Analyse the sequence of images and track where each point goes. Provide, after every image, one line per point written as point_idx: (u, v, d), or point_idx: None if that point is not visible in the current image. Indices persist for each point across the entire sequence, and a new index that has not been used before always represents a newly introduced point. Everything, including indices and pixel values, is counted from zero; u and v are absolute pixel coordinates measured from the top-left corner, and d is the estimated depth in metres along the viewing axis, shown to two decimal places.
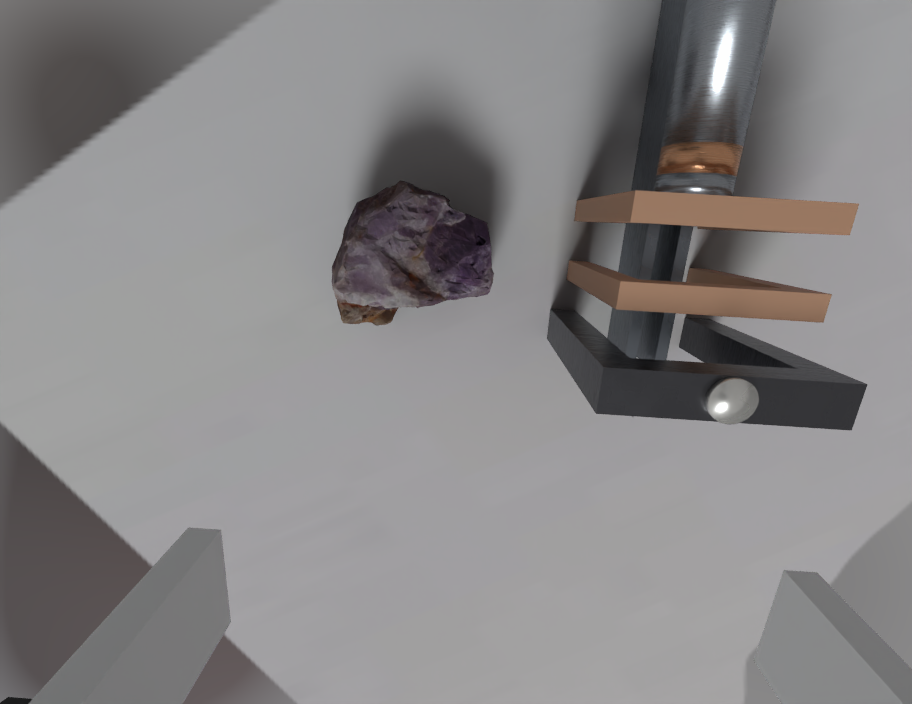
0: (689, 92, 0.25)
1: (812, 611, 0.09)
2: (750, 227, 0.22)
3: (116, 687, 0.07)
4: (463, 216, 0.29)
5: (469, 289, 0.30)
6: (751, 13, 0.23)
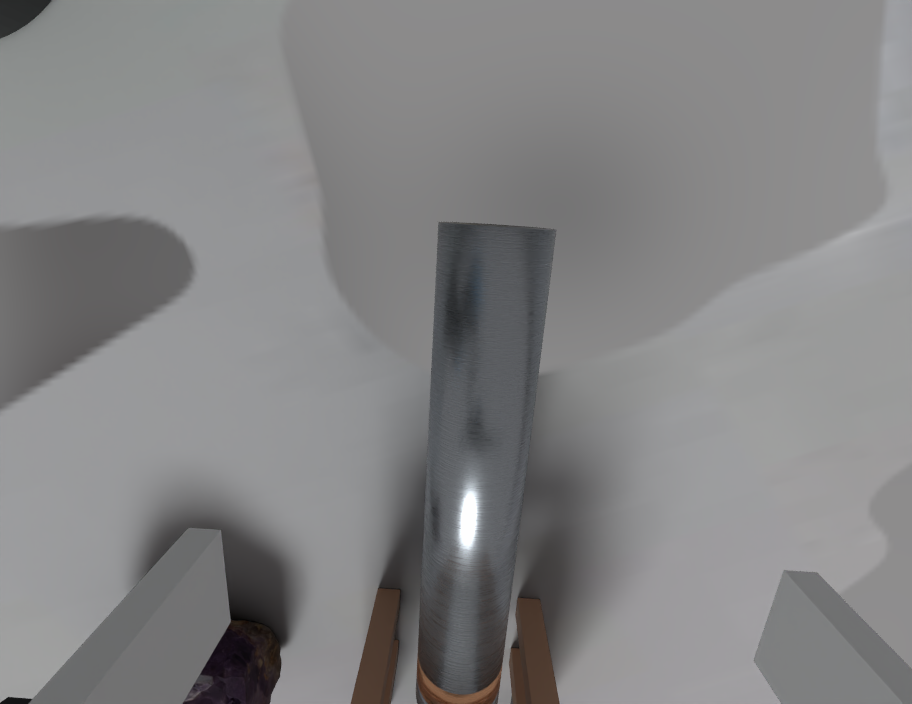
0: (425, 631, 0.21)
1: (812, 611, 0.09)
2: None
3: (116, 687, 0.07)
4: (208, 686, 0.25)
5: None
6: (474, 591, 0.19)
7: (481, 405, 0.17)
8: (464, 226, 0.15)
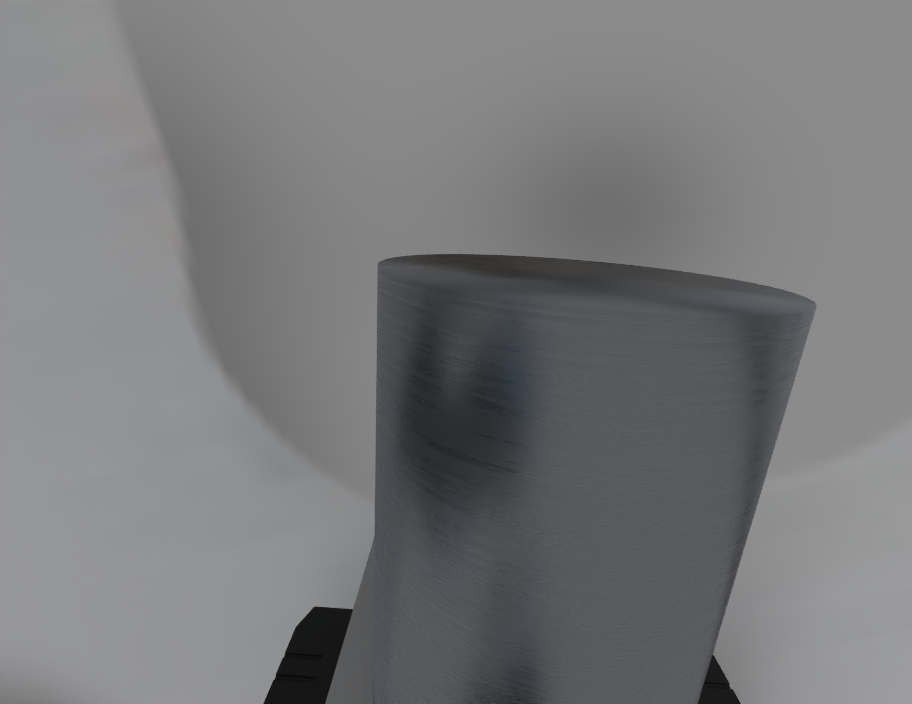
0: None
1: None
2: None
3: None
4: None
5: None
6: None
7: None
8: (466, 298, 0.03)
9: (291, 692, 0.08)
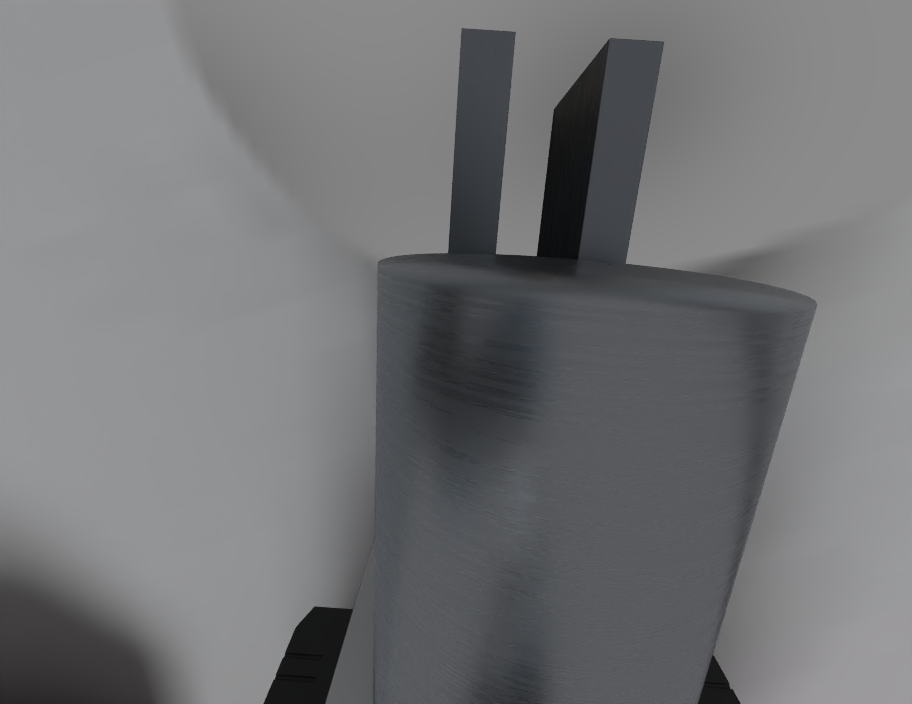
0: None
1: None
2: None
3: None
4: None
5: None
6: None
7: None
8: (467, 297, 0.03)
9: (291, 692, 0.08)
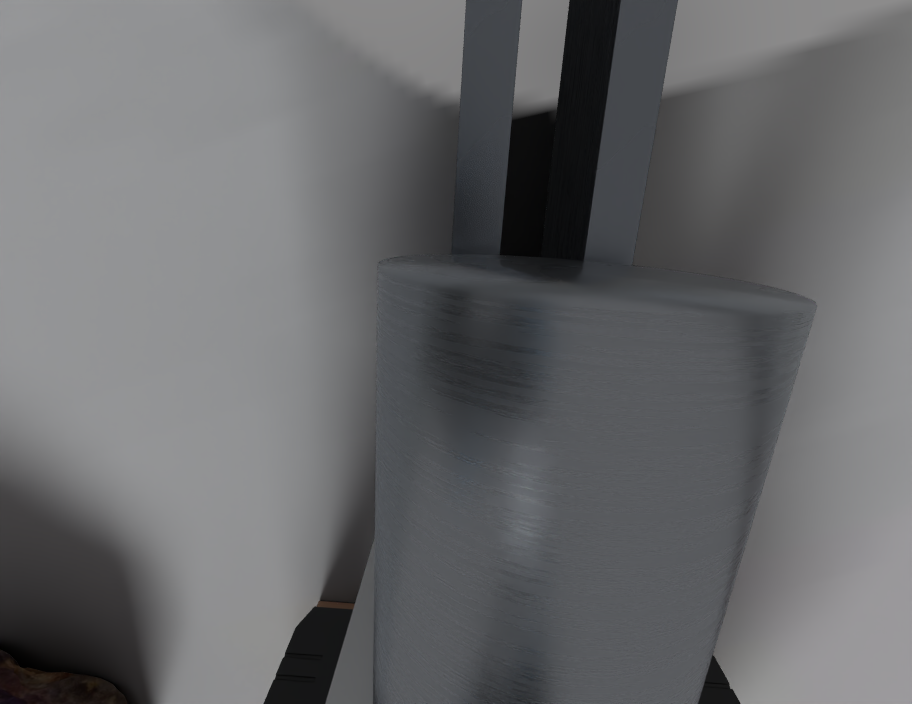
0: None
1: None
2: None
3: None
4: None
5: None
6: None
7: None
8: (466, 298, 0.03)
9: (291, 692, 0.08)
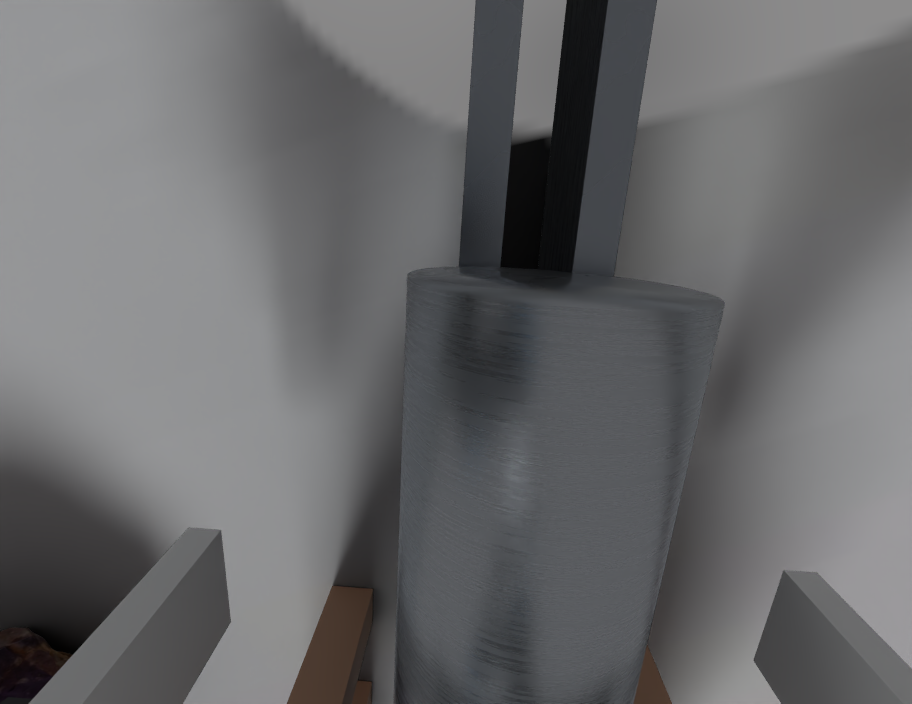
0: None
1: (812, 611, 0.09)
2: None
3: (116, 687, 0.07)
4: None
5: None
6: None
7: None
8: (476, 300, 0.05)
9: None
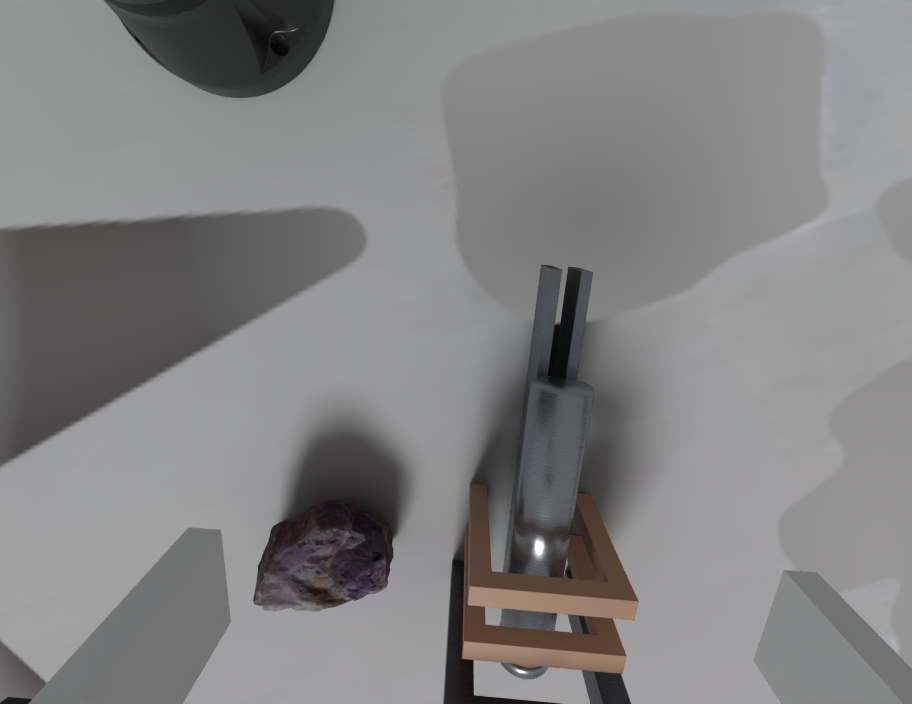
0: (509, 611, 0.35)
1: (812, 611, 0.09)
2: (558, 612, 0.29)
3: (116, 687, 0.07)
4: (362, 540, 0.36)
5: (367, 592, 0.37)
6: None
7: (553, 482, 0.31)
8: (549, 394, 0.30)
9: None
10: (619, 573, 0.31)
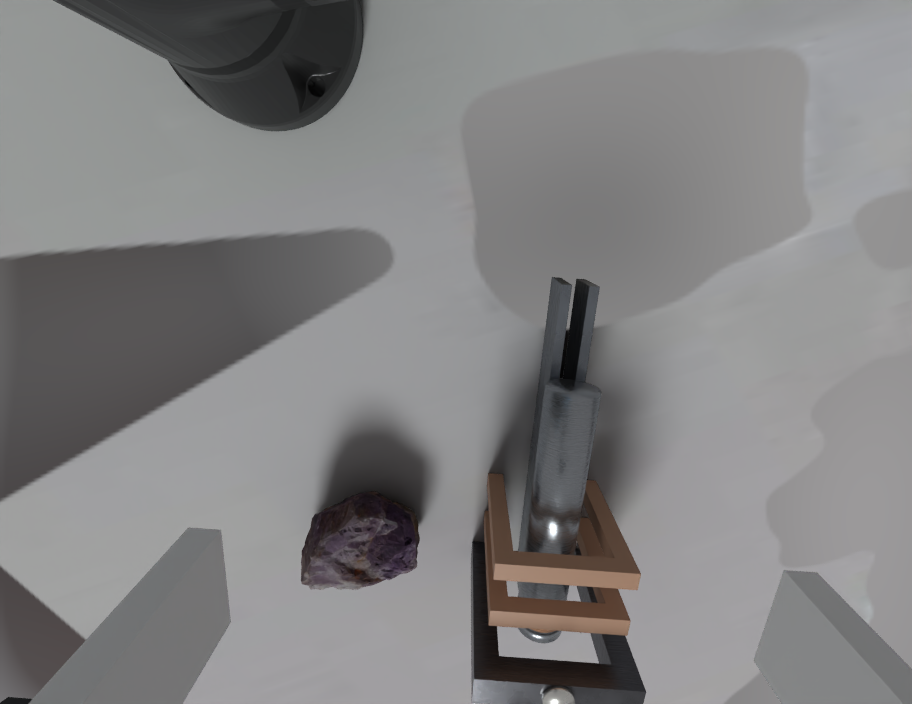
0: (527, 585, 0.40)
1: (812, 611, 0.09)
2: (572, 584, 0.34)
3: (116, 687, 0.07)
4: (395, 527, 0.41)
5: (400, 572, 0.42)
6: None
7: (566, 473, 0.35)
8: (562, 396, 0.34)
9: None
10: (624, 550, 0.36)
